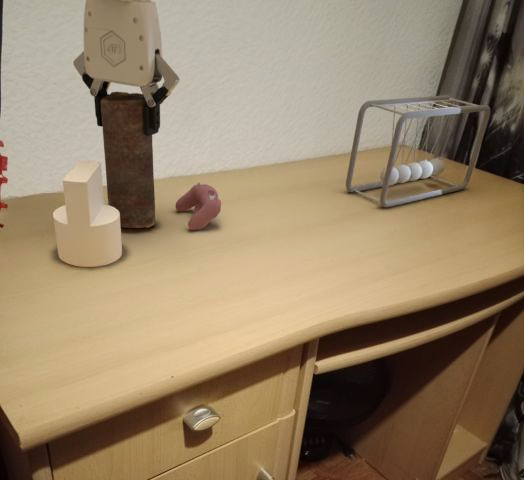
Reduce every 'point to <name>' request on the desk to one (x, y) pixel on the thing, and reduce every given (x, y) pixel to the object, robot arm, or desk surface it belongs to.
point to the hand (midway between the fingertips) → (128, 128)
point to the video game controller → (200, 205)
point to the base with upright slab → (87, 220)
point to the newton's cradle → (424, 167)
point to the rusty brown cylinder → (128, 159)
